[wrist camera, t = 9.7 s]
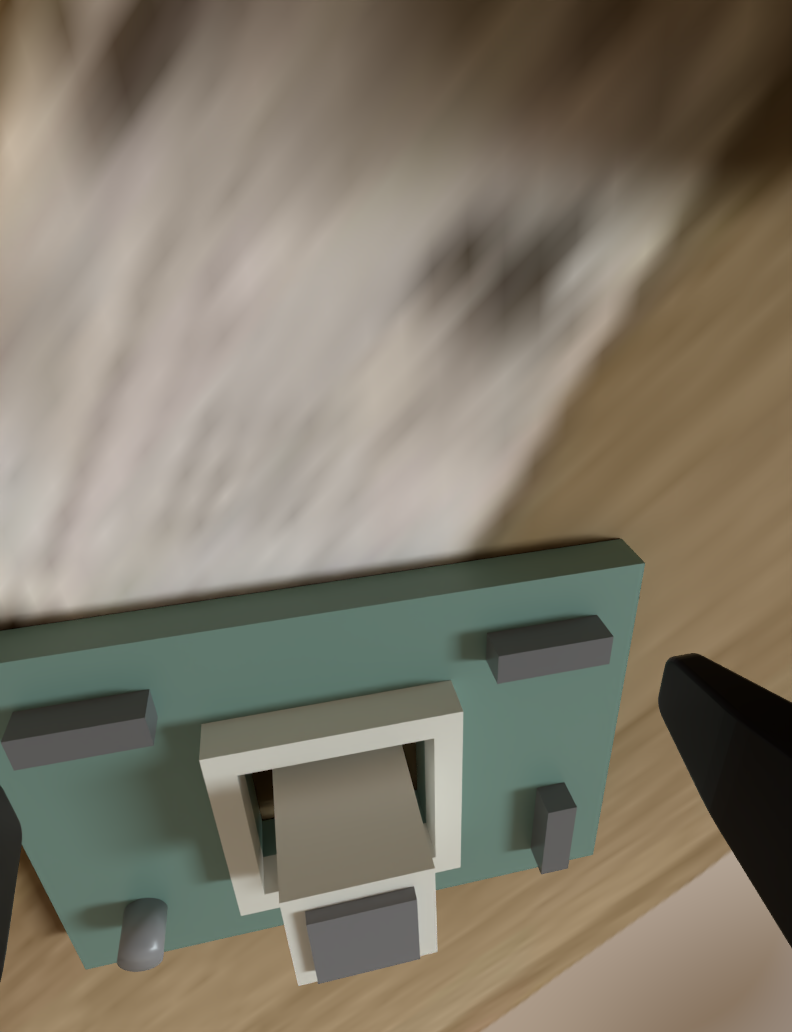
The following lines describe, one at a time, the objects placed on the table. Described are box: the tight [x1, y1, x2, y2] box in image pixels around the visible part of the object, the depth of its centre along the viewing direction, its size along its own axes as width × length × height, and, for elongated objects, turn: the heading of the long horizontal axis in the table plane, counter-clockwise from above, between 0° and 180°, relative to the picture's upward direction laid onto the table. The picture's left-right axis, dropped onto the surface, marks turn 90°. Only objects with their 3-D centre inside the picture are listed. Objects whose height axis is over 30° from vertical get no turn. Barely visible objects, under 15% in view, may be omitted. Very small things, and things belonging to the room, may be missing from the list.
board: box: [0, 539, 645, 972], centre depth 25 cm, size 22×16×3 cm
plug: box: [272, 745, 437, 986], centre depth 23 cm, size 4×6×7 cm
